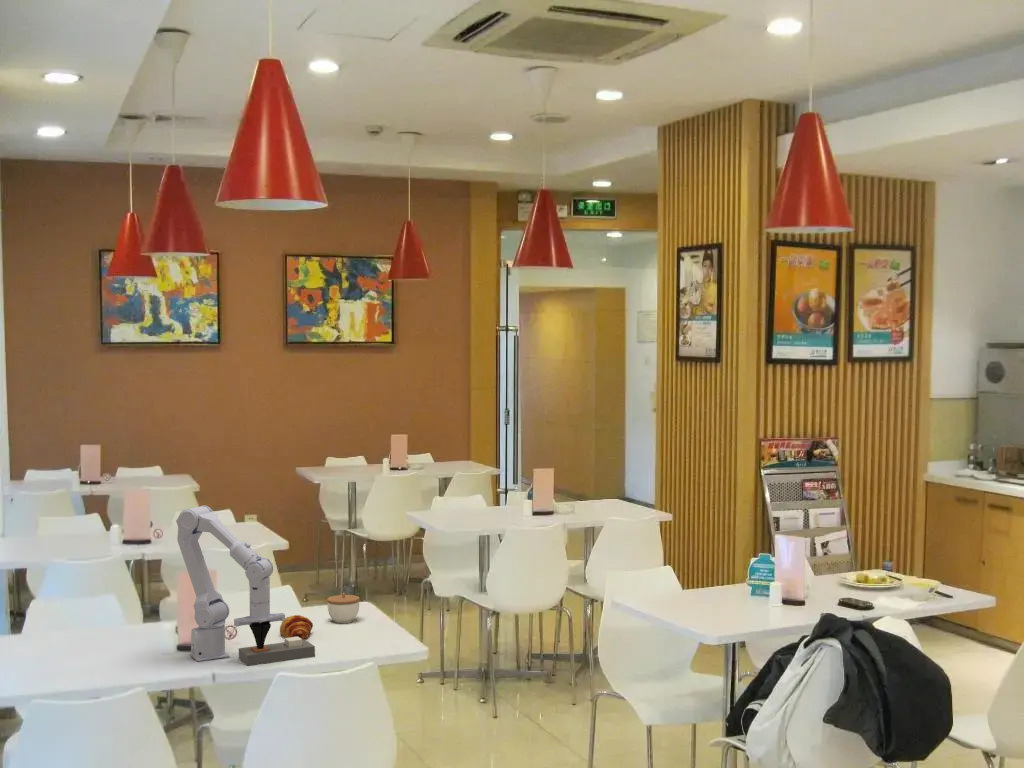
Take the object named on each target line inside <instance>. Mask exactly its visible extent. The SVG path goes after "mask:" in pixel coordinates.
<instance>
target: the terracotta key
mask: <svg viewBox="0 0 1024 768" xmlns="http://www.w3.org/2000/svg"><path fill="white" fill-rule="evenodd" d="M250 647H251V650H252V651H253V652H254V653H255V652H262V651H269V648H267V647H266V646H264V647H263V649H258V648H257V647H252V646H250Z"/></svg>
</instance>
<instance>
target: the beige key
mask: <svg viewBox="0 0 1024 768" xmlns="http://www.w3.org/2000/svg"><path fill="white" fill-rule="evenodd" d="M302 640H303V639H301V638H299V637H290V638H287V637H284V642H285V646H286V647H287V648H292V647H299V646H302Z"/></svg>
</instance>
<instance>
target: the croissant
mask: <svg viewBox="0 0 1024 768" xmlns="http://www.w3.org/2000/svg"><path fill="white" fill-rule="evenodd" d="M313 628H314V624H313V622H312V621H311V620H310V619H309V618H308V617H307V616H303V615H300V614H296V615H291V616H287V617H285V621H281V624H280V626H279V633H280V635H282V636H283V637H284V638H290V637H299V638H301V639H302V640H306V639H307V637H309V636H310V634H311V631H312V630H313Z"/></svg>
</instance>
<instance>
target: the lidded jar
mask: <svg viewBox="0 0 1024 768" xmlns="http://www.w3.org/2000/svg"><path fill="white" fill-rule="evenodd" d="M326 601H327V612H328V615H329V617H330V618H331V619H332V620H333V621H335V622H334V623H336V622H337V624H348V622H349V623H352V622H353V621H354V619H356V617H357V616H358V613H359V609H360V596H358V595H355V594H346V593H345V592H341V594H338V595H332V596H329V597H327V599H326Z"/></svg>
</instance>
